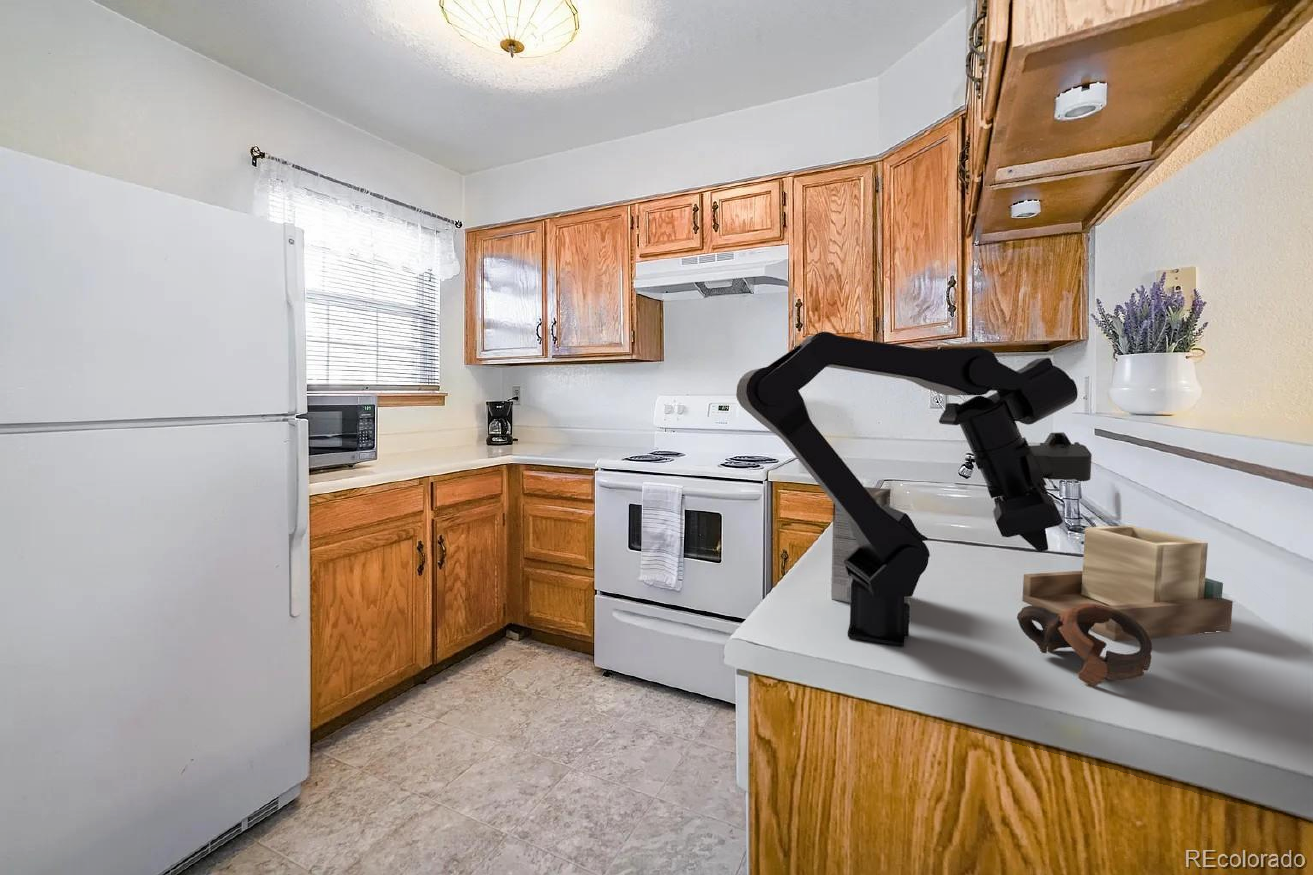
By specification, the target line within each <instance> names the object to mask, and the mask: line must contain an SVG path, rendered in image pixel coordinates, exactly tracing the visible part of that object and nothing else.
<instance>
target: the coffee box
mask: <svg viewBox="0 0 1313 875" xmlns="http://www.w3.org/2000/svg"><path fill="white" fill-rule="evenodd" d="M864 488H865V489H866V490H867V491H868V493H869V494H870V495H871V496H872V498H873V499H874V500H875V501H876V503H877V504H878V505H879V506H880V507H881V508H882V507H883V506H884V505H887V506H889V507H891V505H890V504H891V488H879V487H867V486H866V487H865V486H864ZM832 506H833V507H832V541H831V542H832V543H831V544H832V547H831V582H830V584H831V585H830V586H831V589H830V595H831V596H830V599H831V600H835V601H840V602H845V603H850V601H851V584H852V580H853V578H852V577H850V576H849V575H847V572H846V569H845V566H844V563H843V562H844V560H845V559H846V558H847V557H848V556H849V555H850V554H851V553H852V552H853V551H854V550H855V549H856V548H857V547H858V546H859V545H858V544H857V542H856V540H855V538H854V535H853V533H852V530H851V527H850V524H849V522H848V520H847V518H846V517H845V516H844V515H843V514H842V512H841V511H840V510H839V509H838V507H837V506H836V505H835V504H834V503H832Z"/></svg>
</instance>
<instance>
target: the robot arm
mask: <svg viewBox="0 0 1313 875" xmlns="http://www.w3.org/2000/svg"><path fill="white" fill-rule="evenodd" d="M825 368H831V369H836V370H844V371H850V372H857V373H863V374H870V375H876V376H881V377H889V378H895V379H903V380H906V381H909V382H911V383H914V384H916V385H917V386H920V387H922V388H924V389H927V390H929V391H933V392H935V393H939V394H941V395H945V396H973V397H971V398H970V399H968V400H965V401H964V402H962V403H956V402H955V403H953V402H947V403H946V404H945V408H944V411H943V413H941V415H940V418H939V420H938V423H939V424H940V425H948V426H958V425H959V426H960V429H961V431H962V432H963V433H962V434H964V437H965V439H966V441H967V444H968V446H969V448H970V451H971V452H972V455H973V457H974V463H975V465H976V467H977V469H978V470H979V471H980V473H981V476H982V478H983V479H984V481H985V484H986V487H987V491H988V494H989V495H990V497H991V499H993V501H994V504H995V507H994V509H993V510H992V512H993V516H994V520H995V524H996V526H997V528H998V530H999V532H1000V535H1001V537H1003V538H1011V537H1016V536H1020V537H1021V538H1022V539H1024V540H1025V541H1026V542H1027V543H1028V544H1029V545H1031V546H1032V548H1034V549H1035V550H1036V551H1038V552H1039V553H1040V552H1041V553H1042V552H1046V551H1048V550H1049V544H1048V538H1047V532H1046V530H1047V529H1050V528H1054V527H1058V526H1060V525H1061V524H1063V523H1064V521H1063V518H1062V515H1061V514H1060V512H1059V509H1058V506H1057V505H1056V503H1055V501H1054V499H1053V497H1052V495H1050V494H1049V492H1048V490H1047V488H1046V486H1048V485H1047V483H1046V481H1045V480H1053V481H1054V480H1055V481H1056V480H1060V481H1061V480H1062V481H1063V480H1068V481H1069V480H1074V481H1077V482H1088V481H1090V480H1091V477H1092V474H1091V472H1092V458H1093V457H1092V456H1093V455H1092V453H1091V451H1090V450H1089V449H1088V448H1087V446H1086V445H1085V444H1080V442H1078V441H1077V442H1074V443H1072V442H1071V441H1070V439H1069V438H1068V436H1067V435H1066V433H1065V432H1050V433H1049V435H1048V436H1047V438H1046V439H1045V441H1044V442H1040V443H1039V444H1038V445H1037V444H1035V445H1029V443H1028V441H1027V439H1026V436H1024V437H1023V435H1022V434H1021V432H1020V429H1019V427H1018V425H1017V422H1019V423H1022V424H1024V425H1027V426H1028V425H1033V424H1035V423H1037V422H1040V421H1041V420H1043V419H1045V418H1047V417H1048V416H1051V415H1053V414H1054V413H1057V412H1059V411H1061V410H1063V409H1065V408H1066V407H1068V406H1071V405H1072V404H1074V403H1075V402H1076V401H1077V399H1078V396H1079V395H1078V392H1079V391H1078V387H1077V384H1076V382H1075V380H1074V379H1073V378H1071V377H1070V375H1068V374H1067V373H1066V372H1065V371H1064V370H1063V369H1061V368H1060V367H1058V366H1055V365H1054V364H1053V362H1052V360H1051V358H1050V357H1041V358H1039V357H1038V358H1036V359H1034V360H1032V361H1030V362H1028V363H1027V364H1026V365H1025V366H1023V367H1021V368H1020V369H1017V370H1014V369H1013V368H1011V367H1009V366H1007V365H1005V364H1003V363H1001V362H999V360H998V358H997V357H996V354H995V352H994V351H993V350H991V349H988V348H986V347H981V346H980V347H978V346H977V347H972V346H971V347H950V348H947V347H945V348H925V349H924V348H917V347H910V346H905V345H899V344H893V343H889V342H888V343H887V342H881V341H874V340H869V339H867V340H866V339H863V338H862V339H861V338H856V337H850V336H849V337H848V336H843V335H837V334H835V333H832V332H829V331H821V332H817V333H814V334H812V335H809V336H807V337H805V338H804V339H803V340H802V342H801V343H799V344H798V345H797V346H795V347H794V348H793V349H791V350H790V351H788V352H786V353H785V354H784V355H782V356H780V357H779V358H778V359H776V360H775V361H773V362H772V363H770V364H769V365H768V366H765V367H760V368H755V369H752V370H751V369H750V370H749V371H747V372H746V373H744V374H743V375H742V376H741V378H740V379H739V380H738V383H737V385H736V394H735V395H736V400H737V401H738V403H739V405H740V406H741V408H742V409H743V410H745V411H746V412H747V413H748V414H750V415H751V416H752V417H753V418H754V419H755V420H756V421H758V422H759V423H760V424H761V425H763V426H764V427H765V428H767V429H768V430H770V431H771V432H772V433H773V434H774V435H776V436H777V437H778V438H779V439H781V440H782V441H783V443H784V444H785V445H786V446H787V447H788V448H789V450H790V451H791V453H792V454H794V457H795V458H797V460H798V461H799V462H800V464H802V466H803V467H804V468H805V469H806V471H807V472H808V473H809V474H810V476H811V477H812V478H813V479H814V480H815V482H816V483H817V484H818V485H819V486H820V488H821V489H822V490H823V491H824V492H825V495H827V497H828V498H829V499H830V500H831V501H832V502H833V503H834V504H835V505H836V506H837V507H838V509H839V510H840V511H841V512H842V514H843V515H844V516H845V517H846V518H847V520H848V522H849V524H850V527H851V530H852V533H853V535H854V538H855V540H856V542H857V544H858V545H859V546H858V547H857V548H856V549H855V550H854V551H853V552H852V553H851V554H850V555H849V556H848V557H847V558H846V559H845V560H844V562H843V563H844V566H845V569H846V572H847V575H849V576H850V577H852V578H853V580H852V584H851V601H850V608H849V626H848V630H847V637H848V638H850V639H856V640H862V641H869V642H874V643H881V644H887V645H892V646H896V647H897V646H899V647H904V646H905V638H907V637H909V635H910V634H909V633H910V632H909V631H910V630H909V629H910V608H911V607H910V605H911V603H910V600H911V599H910V597H913V594H914V593H915V591H916V590H915V589H916V587H917V585H918V583H919V580H920V578H921V575H922V574H923V573H924V572H925V571H926V569H927V567H928V564H929V558H930V556H931V553H930V550H929V548H928V546H927V544H926V543H925V542H926V541H928V536H926V535H923V534H922V533H921V532H919V531H918V529H917V528H916V526H915V524H914V522H913V520H912V518H910V516H909V515H908V513H906V512H903V511H901V510H899V509H896V508H894V507H891V506H890V507H889V506H887V505H884V506H883V507H882V508H881V507H880V506H879V505H878V504H877V503H876V501H875V500H874V499H873V498H872V496H871V495H870V494H869V493H868V491H867V490H866V489H865V488H864V487H865V486H864V485H863V484H862V483H861V481H860V480H859V479H858V478H857V476H856V475H855V474H854V473H853V472H852V470H851V469H850V468H849V467H848V464H846V463H845V462H844V460H843V459H842V458H841V456H839V454H838V452H836V450H835V449H834V448H833V447H832V445H831V444H830V443H829V442H828V441H827V439H826V438H825V437H824V436H823V435H822V433H821V432H820V430H819V429H818V428H817V426H816V425H814V423H813V421H812V420H811V418H810V415H809V414H810V413H809V411H808V409H807V405H806V403H805V400H804V398H803V396H802V394H801V393H800V390H801V389H803V387H805V386H807V385H808V384H809V383H810V382H811V381H812V380H813V379H814V378H815V377H817V375H819V374H820V373H821V372H822V371H823V370H824V369H825ZM991 391H992V392H994V393H993V394H991V395H989V396H984V395H986V394H988V393H989V392H991ZM833 503H832V504H833ZM924 541H925V542H924Z"/></svg>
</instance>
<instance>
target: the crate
mask: <svg viewBox="0 0 1313 875" xmlns="http://www.w3.org/2000/svg"><path fill="white" fill-rule="evenodd" d="M1083 542H1084V543H1083V558H1082V560H1083V561H1082V571H1083V574H1082V591H1081V594H1082V595H1084V596H1087V597H1090V598H1092V599H1095V600H1098V601H1100V602H1103V603H1106V604H1108V605H1111V606H1114V605H1128V604H1142V603H1156V602H1170V601H1184V600H1197V599H1204V588H1205V578H1206V572H1207V563H1208V562H1207V561H1208V560H1207V558H1208V547H1209V546H1208V545H1209V542H1206V541H1202V540H1197V539H1193V538H1189V537H1185V536H1180V535H1175V534H1171V533H1166V532H1161V531H1158V530H1153V529H1149V528H1143V527H1139V526H1134V525H1112V526H1111V525H1110V526H1089V527H1085V528H1084V541H1083Z"/></svg>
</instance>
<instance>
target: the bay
mask: <svg viewBox="0 0 1313 875" xmlns="http://www.w3.org/2000/svg"><path fill="white" fill-rule="evenodd" d="M1082 574H1083V570H1077V571H1076V570H1075V571H1073V570H1072V571H1059V572H1058V571H1057V572H1056V571H1055V572H1040V573H1039V572H1038V573H1024V574H1023V583H1022V585H1023V586H1022V602H1025V603H1026V604H1029V605H1030V606H1031V605H1035V606H1040V607H1044V608H1046V609H1048V610H1050V611H1052V612H1054V613H1062V612H1064V611H1067V610H1072V609H1073V608H1074V607H1075V606H1078V605H1081V604H1097V605H1102V606H1106V607H1109V608H1111V609H1113V610H1117V611H1119V612H1121V613H1123V614H1125V615H1127V616H1129V617H1130V618H1132V619H1133V620H1135V621H1136V622H1137V623H1138V624H1139V625H1140V626H1141V627H1143V629H1144V630H1145V631H1146V633H1147V634H1148V636H1149V637H1150V639H1155V638H1164V637H1165V638H1166V637H1167V638H1168V637H1178V636H1190V635H1199V633H1203V634H1206V633H1205V632H1215V633H1217V632H1216V631H1227V632H1231V627H1232V617H1233V616H1232V614H1233V603H1234V602H1233V600H1230V599H1227V598H1225V597H1223V589H1224V587H1223V585H1224V583H1223V582H1221V581H1218V580H1214V579H1211V578H1207V577H1205V588H1204V599H1197V600H1184V601H1170V602H1156V603H1142V604H1128V605H1114V606H1111V605H1108V604H1106V603H1103V602H1100V601H1098V600H1095V599H1092V598H1090V597H1087V596H1084V595H1082V594H1081V591H1082ZM1090 631H1091V632H1092V633H1096V635H1099V636H1102V637H1104V638H1106V639H1108V640H1111V641H1114V642H1117V641H1119V642H1120V641H1132V640H1138V639H1137V638H1135V637H1133V636H1132V635H1129V634H1127V633H1126V632H1124V631H1123V630H1122V627H1121V626H1120V625H1119V624H1118V623H1117V622H1115V621H1113V620H1112V619H1110V620H1109V621H1107V622H1105V623H1095V624H1094V626H1092V627H1091V629H1089V632H1090Z"/></svg>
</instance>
